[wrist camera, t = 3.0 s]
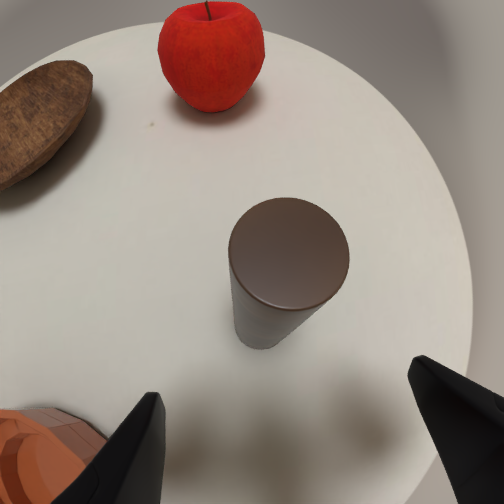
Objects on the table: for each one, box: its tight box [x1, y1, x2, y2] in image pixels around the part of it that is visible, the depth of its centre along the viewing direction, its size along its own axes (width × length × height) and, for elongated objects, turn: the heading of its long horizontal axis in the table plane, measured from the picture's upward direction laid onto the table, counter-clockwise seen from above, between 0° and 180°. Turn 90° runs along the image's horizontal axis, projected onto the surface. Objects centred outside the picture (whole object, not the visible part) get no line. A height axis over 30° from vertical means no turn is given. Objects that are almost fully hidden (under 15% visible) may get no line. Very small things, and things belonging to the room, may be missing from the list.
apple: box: [157, 1, 265, 112], centre depth 24 cm, size 10×10×12 cm
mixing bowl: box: [0, 408, 107, 504], centre depth 12 cm, size 14×14×6 cm
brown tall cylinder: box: [228, 198, 350, 349], centre depth 15 cm, size 4×4×13 cm
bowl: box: [0, 60, 93, 191], centre depth 25 cm, size 20×22×5 cm
